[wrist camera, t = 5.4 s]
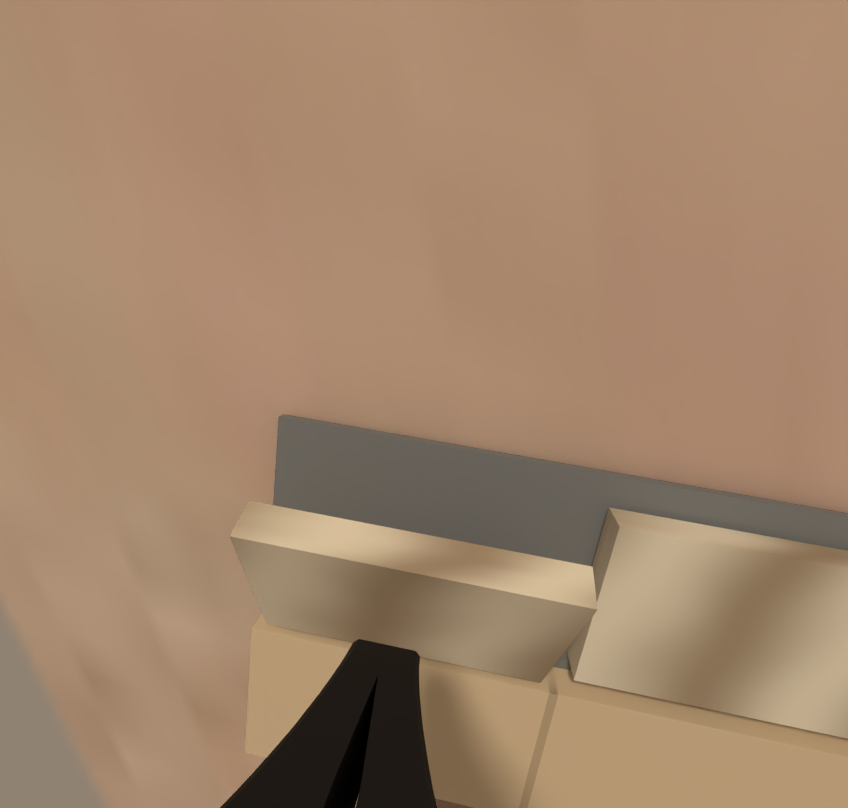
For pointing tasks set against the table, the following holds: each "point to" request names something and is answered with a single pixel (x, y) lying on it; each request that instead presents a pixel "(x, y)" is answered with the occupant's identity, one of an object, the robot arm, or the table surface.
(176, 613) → the table surface
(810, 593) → the plank
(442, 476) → the floor base
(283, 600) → the plank
